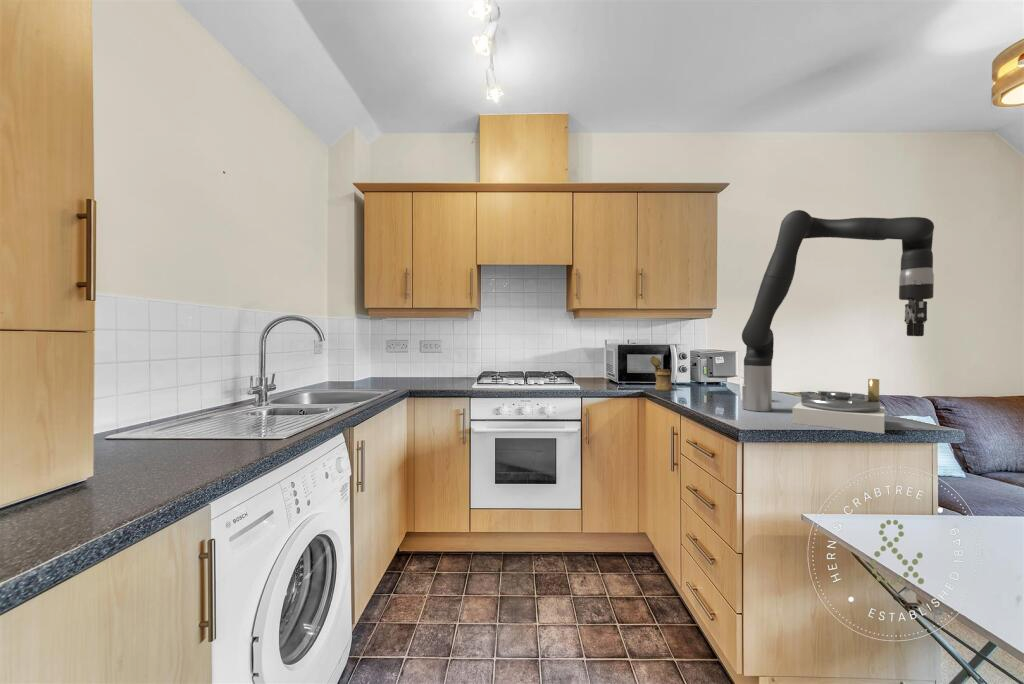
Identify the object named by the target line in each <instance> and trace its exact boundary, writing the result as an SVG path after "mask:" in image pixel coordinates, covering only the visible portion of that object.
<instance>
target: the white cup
mask: <svg viewBox="0 0 1024 684" xmlns="http://www.w3.org/2000/svg"><path fill="white" fill-rule="evenodd" d="M738 380H739V381H738V382H739V393H740V401H742V385H743V384H744V376H742V377H740V376H739V378H738Z"/></svg>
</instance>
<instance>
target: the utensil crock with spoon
mask: <svg viewBox="0 0 1024 684" xmlns="http://www.w3.org/2000/svg"><path fill="white" fill-rule="evenodd" d="M650 363H651V364H652V365H653V367H655V369H654V375H655V385H654V390H655V391H660V392H661V391H662V392H671V391H672V392H673V390H674V388H673V386H672V385H673V384H672V378H671V377H672V374H671V371H670V369H668V368H664V369H663V368H661V365H662V363H661V361H660V358H658V357H656V356H654V355H652V356H651V358H650Z"/></svg>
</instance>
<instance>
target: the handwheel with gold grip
mask: <svg viewBox="0 0 1024 684" xmlns="http://www.w3.org/2000/svg"><path fill="white" fill-rule="evenodd" d="M800 402H801V404H802V405H804V406H808V407H813V408H819V409H827V410H836V411H849V412H876V411H880V406H881V401H880V379H878V378H868V379H867V397H865V394H864V393H858V392H857V393H856V392H854V393H853V392H852V393H850V392H845V391H826V390H825V391H824V390H821V391H820V390H818V391H817V394H810V393H809V392H806V391H804V392H803V391H802V392H801V393H800Z"/></svg>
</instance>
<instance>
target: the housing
mask: <svg viewBox="0 0 1024 684" xmlns="http://www.w3.org/2000/svg"><path fill="white" fill-rule="evenodd" d="M792 424H799V425H805V426H806V425H807V426H815V427H822V426H823V427H824V428H831V427H832V429H839V430H841V429H842V430H849V431H858V432H859V431H860V432H866V433H875V434H885V406H881V405H880V411H876V412H849V411H836V410H827V409H819V408H813V407H808V406H804V405H802V404H801V401H799V402H798V403H797V404H795V405H794V406H793V407H792ZM823 427H822V428H823Z"/></svg>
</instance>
